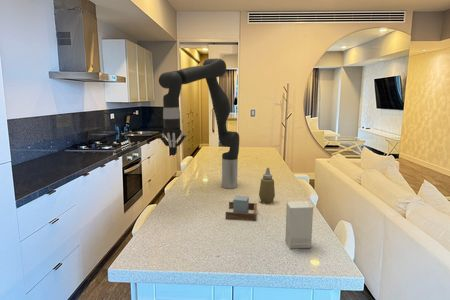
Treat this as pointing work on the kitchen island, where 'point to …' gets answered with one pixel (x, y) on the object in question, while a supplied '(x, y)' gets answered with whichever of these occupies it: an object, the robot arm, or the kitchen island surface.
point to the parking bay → (242, 215)
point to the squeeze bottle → (267, 188)
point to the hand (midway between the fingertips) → (173, 155)
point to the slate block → (241, 204)
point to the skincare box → (299, 224)
